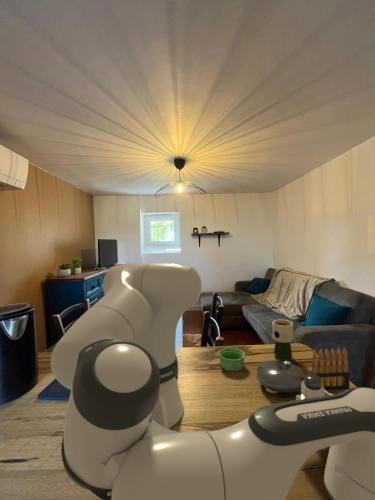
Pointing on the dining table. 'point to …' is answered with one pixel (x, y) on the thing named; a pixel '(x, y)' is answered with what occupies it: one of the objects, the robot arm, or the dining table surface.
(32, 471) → the dining table surface
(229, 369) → the ramekin
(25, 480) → the dining table surface
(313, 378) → the clear bottle
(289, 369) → the grey lid
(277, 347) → the character mug
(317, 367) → the ammunition clip
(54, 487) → the dining table surface
